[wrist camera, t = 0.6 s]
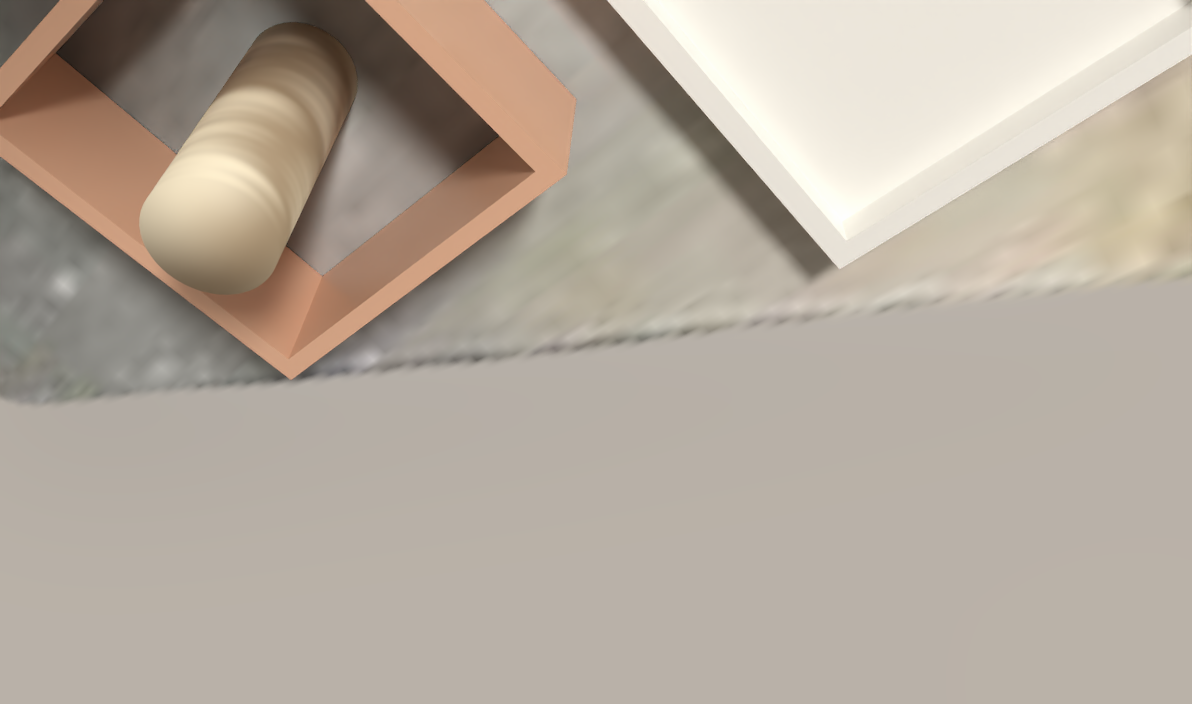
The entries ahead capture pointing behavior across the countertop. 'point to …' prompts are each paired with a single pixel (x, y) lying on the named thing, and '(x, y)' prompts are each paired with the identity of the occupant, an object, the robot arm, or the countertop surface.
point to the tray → (900, 91)
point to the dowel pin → (251, 162)
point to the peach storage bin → (294, 290)
